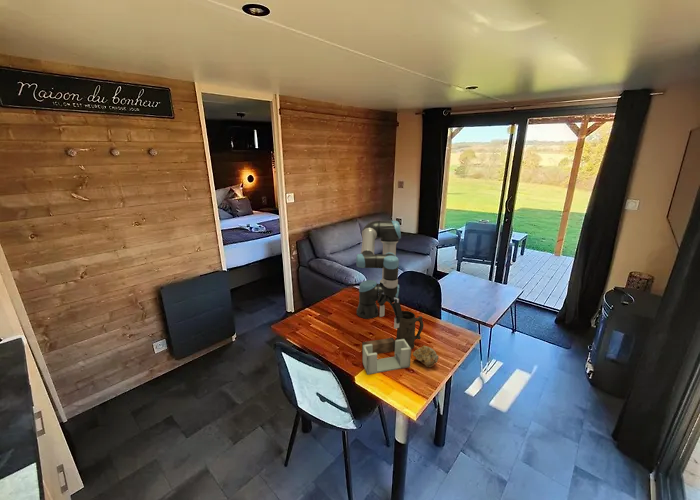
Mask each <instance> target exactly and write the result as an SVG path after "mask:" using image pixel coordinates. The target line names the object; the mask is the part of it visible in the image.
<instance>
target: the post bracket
mask: <svg viewBox="0 0 700 500" xmlns="http://www.w3.org/2000/svg"><path fill="white" fill-rule="evenodd" d="M394 340H395V351H394V356H390V357H389V356H388V357H384V358H383V357H382V358H378V354H377V353H373V345H372V344H367V345H363V352H362V358H361V359H362V365H363V368H364V370H365V372H366V375H367V376H368V375H372V374H379V373H384V372H389V371H395V370H400V369H407V368H411V359H412V349H411V348H410V347H409V345H408V344H407V342H406V341H405V339H400V340H396V339H394Z"/></svg>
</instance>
